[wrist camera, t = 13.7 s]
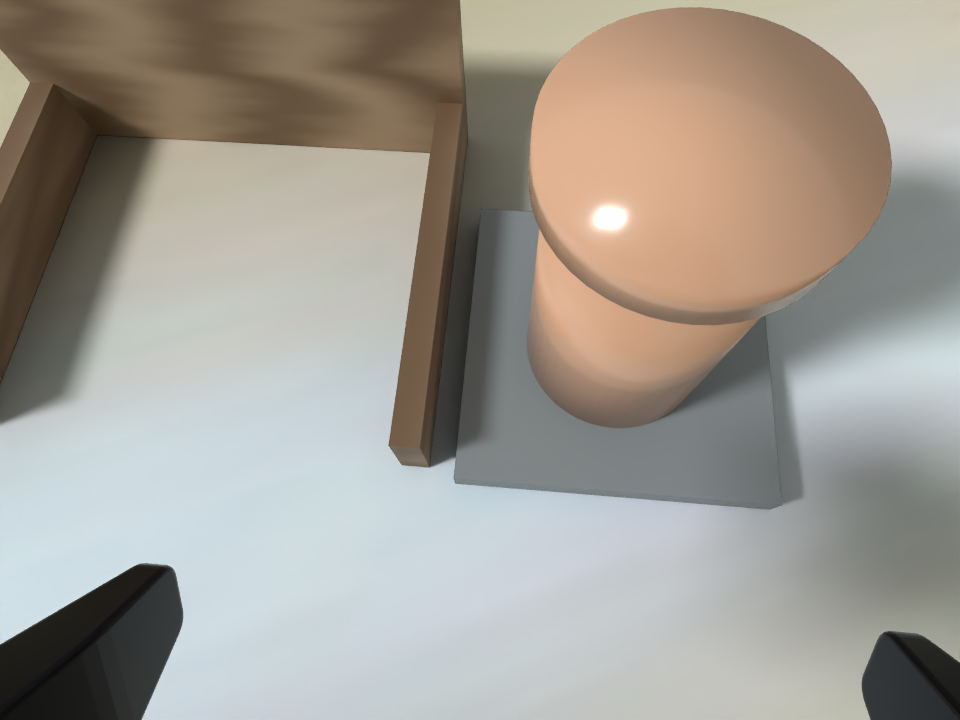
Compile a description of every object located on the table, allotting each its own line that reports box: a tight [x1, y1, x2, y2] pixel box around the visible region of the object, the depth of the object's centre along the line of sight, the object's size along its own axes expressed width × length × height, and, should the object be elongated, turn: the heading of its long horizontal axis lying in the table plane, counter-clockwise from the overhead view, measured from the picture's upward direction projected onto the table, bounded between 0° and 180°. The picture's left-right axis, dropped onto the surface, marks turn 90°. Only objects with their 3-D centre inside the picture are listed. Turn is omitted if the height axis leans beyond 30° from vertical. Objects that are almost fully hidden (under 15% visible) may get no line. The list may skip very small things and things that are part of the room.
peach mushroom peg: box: [527, 8, 892, 428], centre depth 18 cm, size 7×7×11 cm
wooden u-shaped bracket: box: [0, 0, 468, 467], centre depth 22 cm, size 18×15×8 cm
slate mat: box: [454, 209, 782, 509], centre depth 23 cm, size 11×11×1 cm
